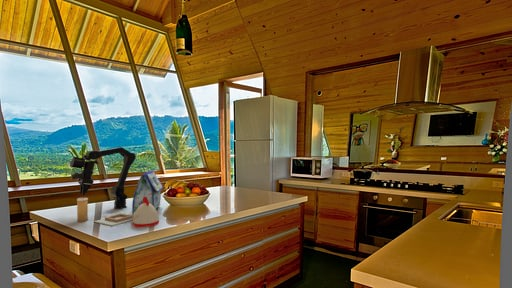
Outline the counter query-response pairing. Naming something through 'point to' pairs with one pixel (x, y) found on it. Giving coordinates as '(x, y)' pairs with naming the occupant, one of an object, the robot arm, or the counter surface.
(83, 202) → the beige cylinder
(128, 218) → the socket board
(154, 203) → the lunch bag
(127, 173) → the robot arm
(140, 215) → the kitchen timer
